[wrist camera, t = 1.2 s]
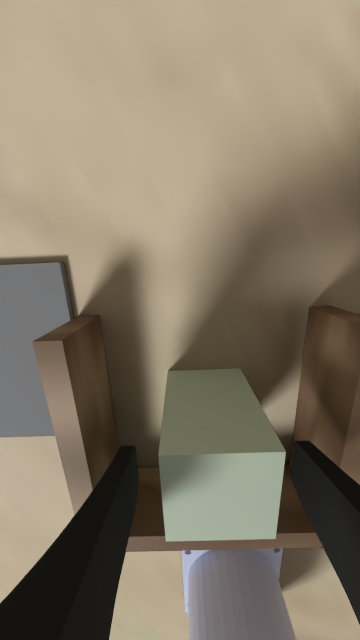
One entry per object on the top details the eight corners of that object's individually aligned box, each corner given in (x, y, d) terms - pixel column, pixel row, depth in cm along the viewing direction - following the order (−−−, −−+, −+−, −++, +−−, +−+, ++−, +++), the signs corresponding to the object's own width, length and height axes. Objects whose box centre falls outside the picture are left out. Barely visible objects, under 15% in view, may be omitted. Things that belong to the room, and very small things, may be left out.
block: (237, 427, 15) (275, 539, 9) (171, 429, 15) (165, 541, 9) (240, 368, 13) (285, 451, 8) (167, 370, 13) (158, 455, 8)
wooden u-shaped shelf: (304, 475, 16) (345, 547, 12) (107, 481, 16) (84, 552, 12) (330, 306, 12) (400, 328, 8) (78, 316, 12) (32, 341, 8)
